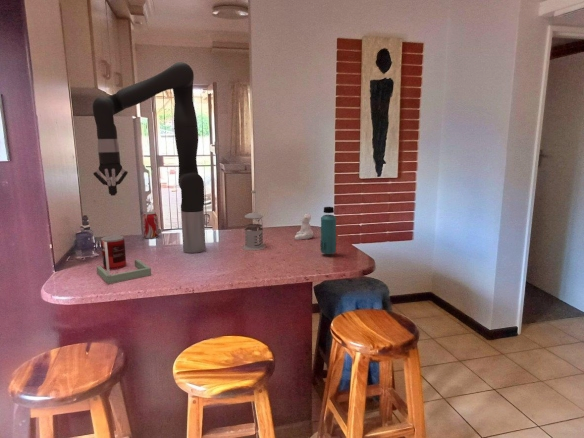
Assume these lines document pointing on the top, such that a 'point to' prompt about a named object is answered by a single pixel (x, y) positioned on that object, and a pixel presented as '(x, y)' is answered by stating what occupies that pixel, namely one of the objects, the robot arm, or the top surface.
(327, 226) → the beverage bottle
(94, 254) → the top surface
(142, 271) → the holder tray
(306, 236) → the white figurine
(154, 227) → the soda can
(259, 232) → the french press
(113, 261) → the canned food
